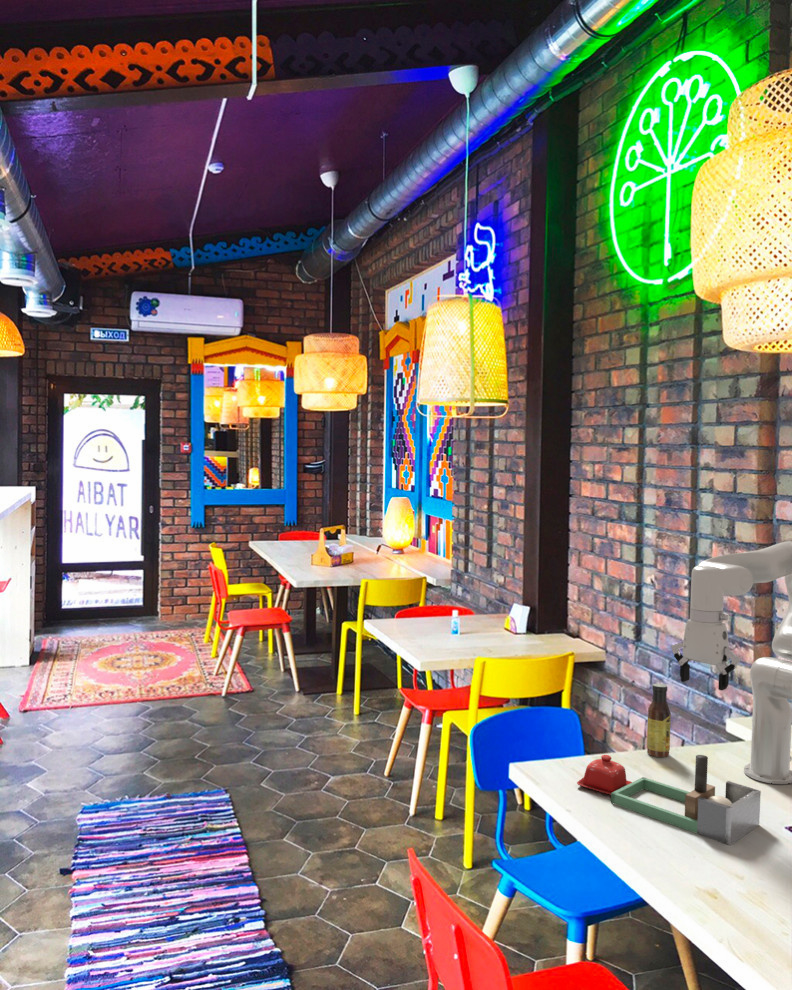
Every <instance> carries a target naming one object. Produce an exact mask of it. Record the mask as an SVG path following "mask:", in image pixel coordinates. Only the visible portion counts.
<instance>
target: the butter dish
mask: <svg viewBox="0 0 792 990" xmlns="http://www.w3.org/2000/svg"><path fill="white" fill-rule="evenodd" d="M600 757H601V758H598V759H595V760H594V759H593V760H592V761H591V762H589V764H588V765H587V766H586V768H585V772H584V774H583V775H584V776H583V777H582V778H580V780H579V781H577V782H576V784H577V785H578V786H580V787H583V788H586V789H588V788H589V789H588V790H591V789H593V790H592V791H595V790H596V791H595V792H598V791H599V792H598V793H602V792H603V793H602V794H605V793H606V795H608V794H609V795H608V796H611V793H612V792H614V791H616V790H618V789H620V788H622V787H624V786H626V785H628V784H630V783H632V782H633V781H630V780H627V774H626V768H625V767H624V766H623V765H622V764H620V763H618V762H616V761H613V760H612V756H611V755H609V754H602V755H601V756H600Z"/></svg>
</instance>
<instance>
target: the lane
mask: <svg viewBox="0 0 792 990" xmlns="http://www.w3.org/2000/svg"><path fill="white" fill-rule="evenodd" d="M631 782H632V783H630V784H628V785H626V786H624V787H622V788H620V789H618V790H616V791H614V792H612V793H611V795H610V803H611V804H613V803H614V805H616V806H619V807H622V808H624V809H627V810H630V811H633V812H636V813H639V814H642V815H644V816H647V817H649V818H652V819H656V820H658V821H661V822H663V823H666V824H670V825H672V826H675V827H677V828H680V829H684V830H686V831H689V832H691V833H694V834H697V820H694V819H691V818H688V817H685V815H682V814H679V813H677V812H674V811H670V810H667V809H664V808H662V807H660V806H656V805H653V804H651V803H648V802H645V801H641V800H639V799H635V798H633V797H631V796H632V795H634V794H636V793H638V792H640V791H642V790H647V791H648V792H649V791H650V792H653V793H655V794H659V795H661V796H664V797H667V798H671V799H673V800H677V801H680V802H681V803H682V802H683V803H685V795H686V794H688V793H689V792H690V791H687V790H684V789H681V788H679V787H675V786H671V785H668V784H665V783H663V782H660V781H656V780H654V779H650V778H647V777H644V776H642V777H640V778H638V779H637V780H636V779H635V780H634V781H631Z"/></svg>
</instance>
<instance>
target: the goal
mask: <svg viewBox="0 0 792 990" xmlns="http://www.w3.org/2000/svg"><path fill="white" fill-rule="evenodd" d="M761 792H762V791H761V790H759V789H756V788H753V787H750V786H746V785H743V784H739V783H736V782H732V781H730V780H727V781H726V782H725V795H724V797H725V798H727V799H728V800H730V801H731V802H732V804H731V805H730V806H727V805H724V804H720V803H717V802H714V801H711V800H708V799H705V798H702V797H700V798H699V799H698V821H697V833H696V834H697V835H700V836H703V837H705V838H709V839H712V840H713V841H716V842H719V843H722V844H726V845H727V846H731V845H733V844H734V843H736V842H737V841H738V840H740V839H742V838H743V837H744V836H746V835H747V834H748V833H750V832H751V831H753V830H754V829H756V828H757V827H758V826H760V814H761V813H760V812H761V811H760V810H761V795H762V793H761Z"/></svg>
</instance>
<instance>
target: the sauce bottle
mask: <svg viewBox="0 0 792 990" xmlns="http://www.w3.org/2000/svg"><path fill="white" fill-rule="evenodd" d="M651 686H652V688H651V689H652V690H651V691H652V701H651V703H650V704H649V706H648V708H647V711H648V712H647V730H646V731H647V733H646V748H647V751H646V752H647V754H648V755H650V756H651V757H656V758H665V757H666V758H667V757H668V756H669V755H670V749H671V719H672V715H671V710H670V708H669V703H668V701H667V694H668V693H667V692H668V685H666V684H664V683H653V684H652V685H651Z"/></svg>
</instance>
